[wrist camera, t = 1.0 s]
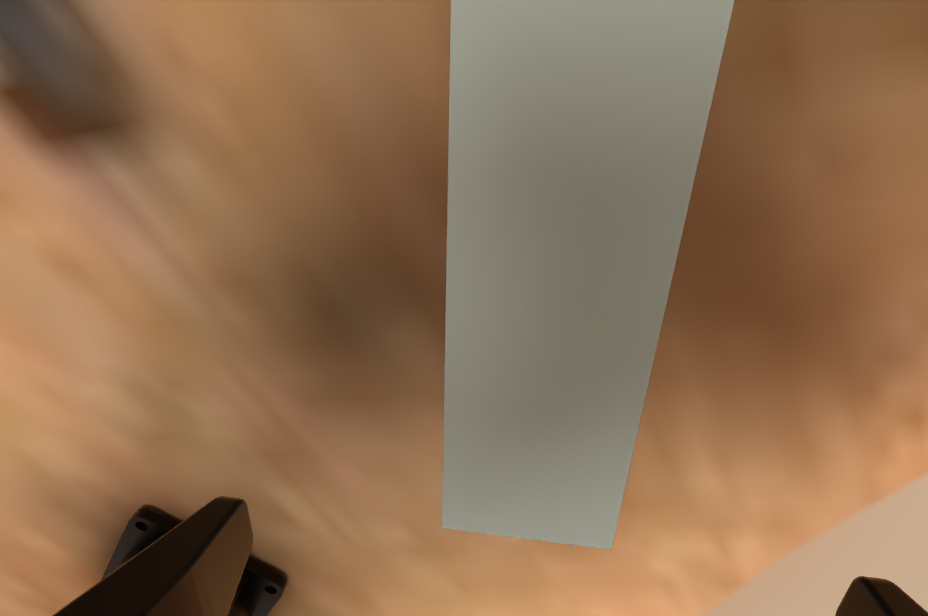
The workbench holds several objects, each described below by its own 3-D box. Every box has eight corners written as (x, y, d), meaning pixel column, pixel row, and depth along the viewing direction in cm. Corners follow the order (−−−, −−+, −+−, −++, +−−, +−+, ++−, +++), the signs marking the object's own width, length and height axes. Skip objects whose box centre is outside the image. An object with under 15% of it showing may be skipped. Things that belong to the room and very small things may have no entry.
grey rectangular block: (595, 414, 18) (611, 549, 13) (467, 401, 18) (441, 528, 14) (674, -38, 12) (748, -60, 8) (485, -43, 12) (451, -66, 8)
